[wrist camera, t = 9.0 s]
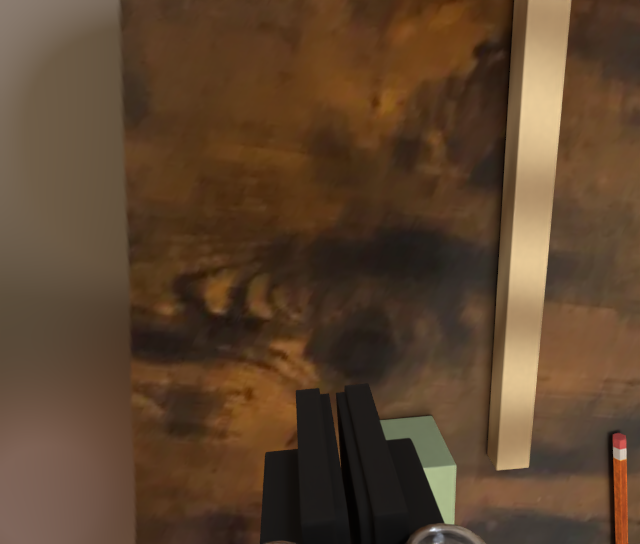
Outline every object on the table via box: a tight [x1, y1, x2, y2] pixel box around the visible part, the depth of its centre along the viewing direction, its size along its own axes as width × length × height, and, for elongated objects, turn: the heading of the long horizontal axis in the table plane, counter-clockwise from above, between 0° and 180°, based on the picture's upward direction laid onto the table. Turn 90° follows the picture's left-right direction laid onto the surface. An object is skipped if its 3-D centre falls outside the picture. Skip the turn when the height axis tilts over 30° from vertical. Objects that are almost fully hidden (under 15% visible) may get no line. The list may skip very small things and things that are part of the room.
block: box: [380, 416, 456, 525], centre depth 29 cm, size 4×4×4 cm
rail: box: [487, 0, 571, 470], centre depth 26 cm, size 32×2×2 cm, turn 3°
